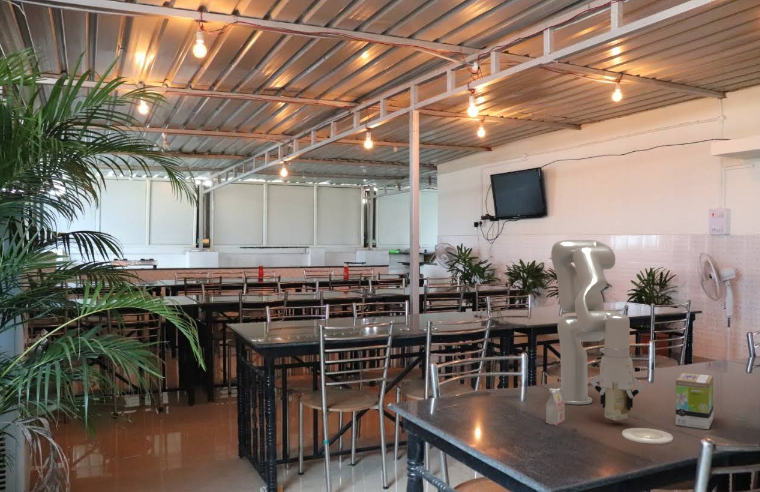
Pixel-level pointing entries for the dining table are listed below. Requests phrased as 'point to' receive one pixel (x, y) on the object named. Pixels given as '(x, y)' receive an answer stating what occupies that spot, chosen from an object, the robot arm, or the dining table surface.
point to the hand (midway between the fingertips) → (616, 407)
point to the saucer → (647, 436)
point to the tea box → (694, 400)
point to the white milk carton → (555, 409)
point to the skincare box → (616, 403)
